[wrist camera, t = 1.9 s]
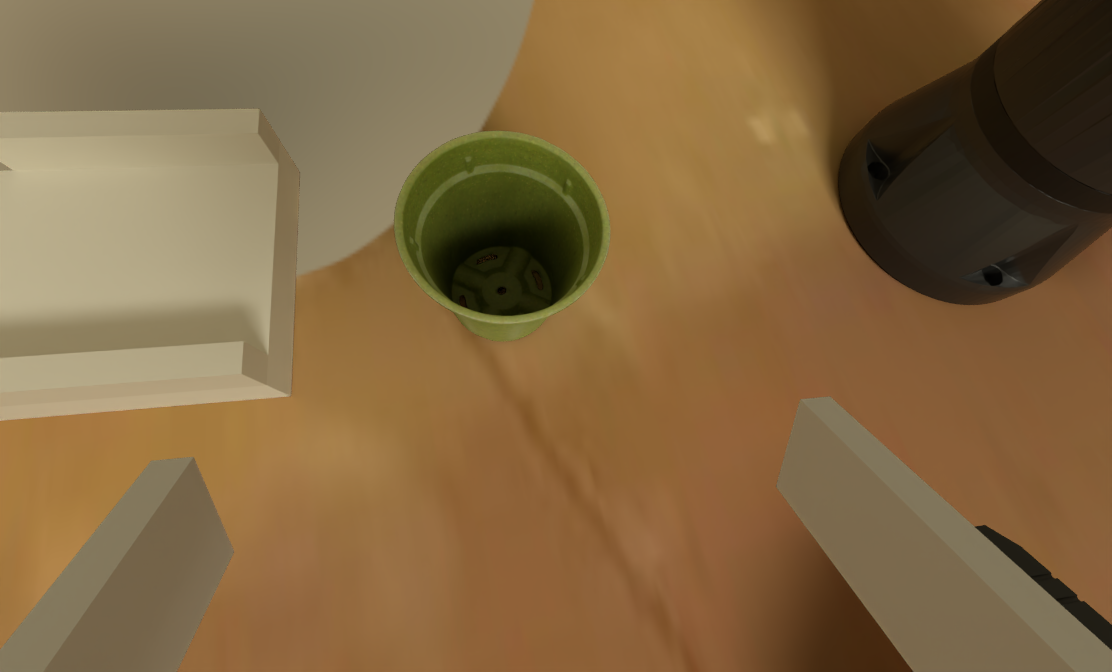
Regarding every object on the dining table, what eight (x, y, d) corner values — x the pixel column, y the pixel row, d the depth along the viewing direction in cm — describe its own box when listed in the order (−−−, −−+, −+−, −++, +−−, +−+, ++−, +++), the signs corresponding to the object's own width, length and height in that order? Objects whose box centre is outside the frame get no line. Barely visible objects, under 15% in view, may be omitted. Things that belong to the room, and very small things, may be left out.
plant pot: (540, 203, 32) (554, 105, 24) (607, 331, 30) (647, 273, 22) (399, 254, 30) (361, 167, 22) (461, 396, 28) (445, 358, 20)
